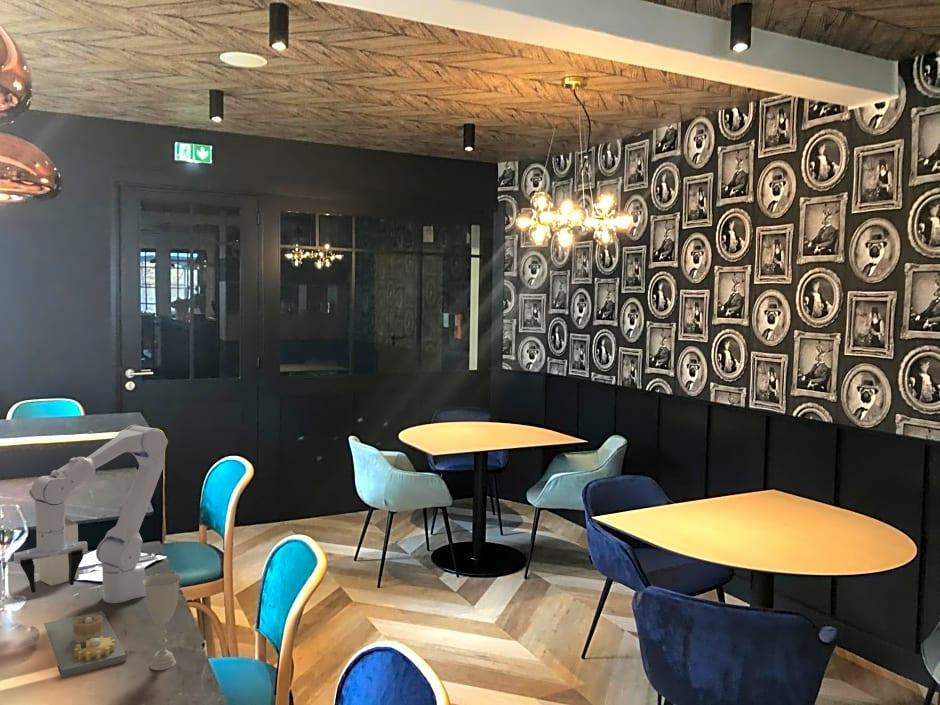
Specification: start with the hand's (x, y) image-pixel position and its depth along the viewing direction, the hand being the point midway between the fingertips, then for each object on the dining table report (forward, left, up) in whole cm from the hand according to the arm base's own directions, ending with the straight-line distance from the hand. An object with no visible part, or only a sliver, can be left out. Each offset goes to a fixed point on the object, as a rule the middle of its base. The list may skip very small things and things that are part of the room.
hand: (52, 587), depth 170 cm
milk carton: (-5, -31, -10) cm, 33 cm away
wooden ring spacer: (-5, +14, -8) cm, 17 cm away
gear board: (-4, +13, -9) cm, 17 cm away
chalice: (-16, +32, -10) cm, 37 cm away
